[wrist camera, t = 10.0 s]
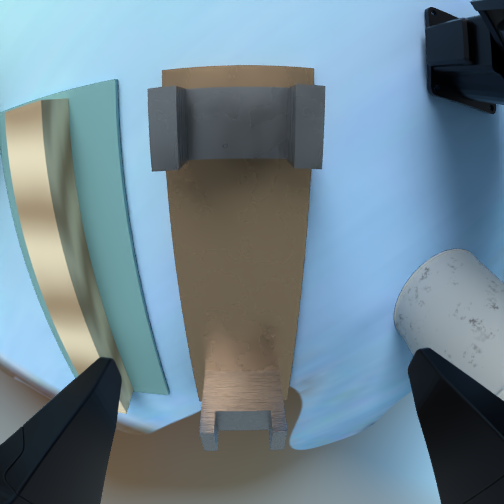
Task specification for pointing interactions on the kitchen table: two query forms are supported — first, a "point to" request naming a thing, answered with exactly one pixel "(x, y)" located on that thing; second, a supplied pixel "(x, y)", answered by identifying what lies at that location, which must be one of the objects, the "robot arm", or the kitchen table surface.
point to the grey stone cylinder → (456, 315)
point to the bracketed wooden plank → (239, 228)
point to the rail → (59, 233)
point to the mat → (102, 229)
